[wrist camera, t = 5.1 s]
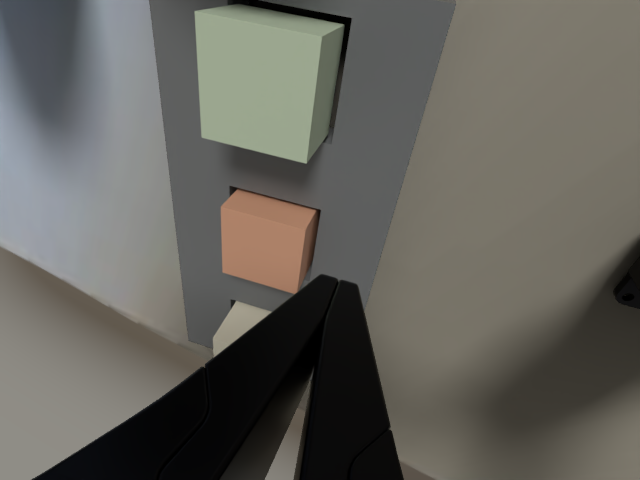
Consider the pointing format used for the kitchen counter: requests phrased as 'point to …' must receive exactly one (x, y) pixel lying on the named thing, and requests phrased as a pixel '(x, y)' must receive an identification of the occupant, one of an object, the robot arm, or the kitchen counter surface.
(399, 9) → the button board
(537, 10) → the kitchen counter surface
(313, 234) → the terracotta button
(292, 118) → the sage button
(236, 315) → the cream button
